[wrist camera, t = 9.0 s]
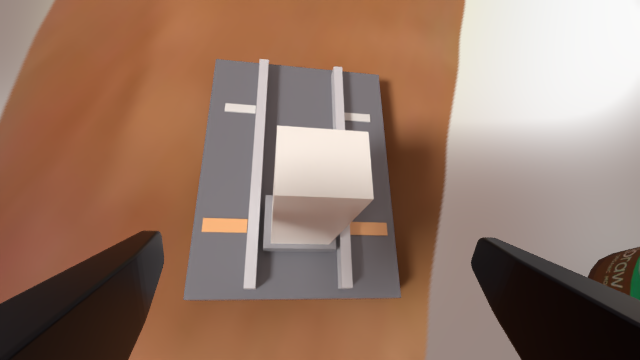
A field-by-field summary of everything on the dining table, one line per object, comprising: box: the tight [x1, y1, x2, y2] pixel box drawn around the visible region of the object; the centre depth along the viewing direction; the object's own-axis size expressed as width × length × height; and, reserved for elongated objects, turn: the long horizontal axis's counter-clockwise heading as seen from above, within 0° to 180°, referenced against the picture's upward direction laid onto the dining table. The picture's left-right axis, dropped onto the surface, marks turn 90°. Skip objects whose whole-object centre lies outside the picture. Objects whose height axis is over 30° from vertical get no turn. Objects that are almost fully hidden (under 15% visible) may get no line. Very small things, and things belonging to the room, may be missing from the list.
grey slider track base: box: [183, 59, 401, 301], centre depth 21 cm, size 16×12×3 cm
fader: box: [263, 125, 374, 252], centre depth 15 cm, size 3×4×9 cm
